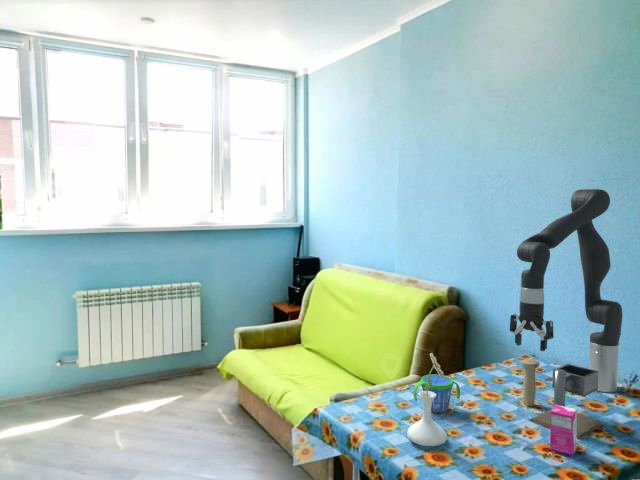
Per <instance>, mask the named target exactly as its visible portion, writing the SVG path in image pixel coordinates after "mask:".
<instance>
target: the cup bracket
mask: <svg viewBox="0 0 640 480" xmlns="http://www.w3.org/2000/svg"><path fill="white" fill-rule="evenodd" d="M598 372H599V371H595V370H591V369H589V368H587V367H583V366H579V365H575V364H571V363H565V364H563V365H560V366H558V367H555V368H553V369H552V385H551V387H552V388H553V391H554V393H553V407H554V406H555V405H559V406H564V407H566V393H570V394H573V395H577V396H580V397H583V398H585V397H586V396H588V395H589V394H592V393H595V392H597V390H598ZM551 410H552V408H551V409H549V410H546V411H545V412H543V413H541V414H539V415H538V416H536V417H534V418H533V419H532V420H533V421H532V423H534V424H537V425H540V426H542V427H545V428H548V429H550V411H551ZM602 425H603V421H602V420H599V419H596V418H593V417H591V416H587V415H584V414H582V413H578V412H577V440H578V439H579V440H581V439H582V438H584V437H585V436H587V435H589V434H591V433H593V431H595V430H596V429H598V428H599V427H601V426H602Z"/></svg>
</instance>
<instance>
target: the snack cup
mask: <svg viewBox="0 0 640 480" xmlns="http://www.w3.org/2000/svg"><path fill="white" fill-rule="evenodd" d="M428 375H429V374H426V375H423V376H422V377H421V378H420V380H419V381H417V382H416V383H415V386H414V388H413V398H414V401H416V402H417V401H418V396H417V390H418V389H419V387H420V386H421V388H422V391H427V389H423V388H425V387H427V377H428ZM444 377H445V378H441V377H440V375H439V374H437V373H434V374H430V376H429V378H430V379H431V382H432V385H431V386H432V387H430V388H428V391H431V392H434V393H435V394H436V397H435V398H434V399H433V402H432V406H431V411H432V412H431V413H434V412H435V414H436V413H437V414H440V413H441V414H442V413H446V412H447V411H449V409H450V408H449V406H450V401H451V395H452V389H453V387H454V385H455V386H456V393H455V397H456V399H458V400H459V399H461V388H460V385H459V384H458V383H457V381H455V380H454V379H452V378H451V377H449V376H446V375H444ZM428 385H429V383H428Z"/></svg>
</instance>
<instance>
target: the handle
mask: <svg viewBox="0 0 640 480" xmlns="http://www.w3.org/2000/svg"><path fill="white" fill-rule="evenodd" d="M519 365H520V366H521V367H523V368H524V372H523V373H524V374H523V383H522V384H523V385H522V398H523V404H524V405H525V406H526V407H527V406H530V407H533V406H534V405H535V400H536V391H537V390H536V369H537V368H539V366H540V365H541V362H540V361H539V360H537V359H531V358H526V359H522V360H520V364H519Z"/></svg>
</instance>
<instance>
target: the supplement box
mask: <svg viewBox="0 0 640 480" xmlns="http://www.w3.org/2000/svg"><path fill="white" fill-rule="evenodd" d="M551 409H552V410H551ZM551 409H550V410H551V411H550V428H549V430H550V431H549V439H550V440H549V444H550V446H549V449H550V451H551V452H554V453H558V454H560V455H565V456H568V457H571V458H573V456H574V455H575V454H576V451H577V450H578V449H577V446H578V445H577V444H578V443H577V441H578V438H577V413H578V412H577V409H576V408H573V407H568V406H565V407H564V406H559V405H555V406H554V405H553V407H552V408H551Z"/></svg>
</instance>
